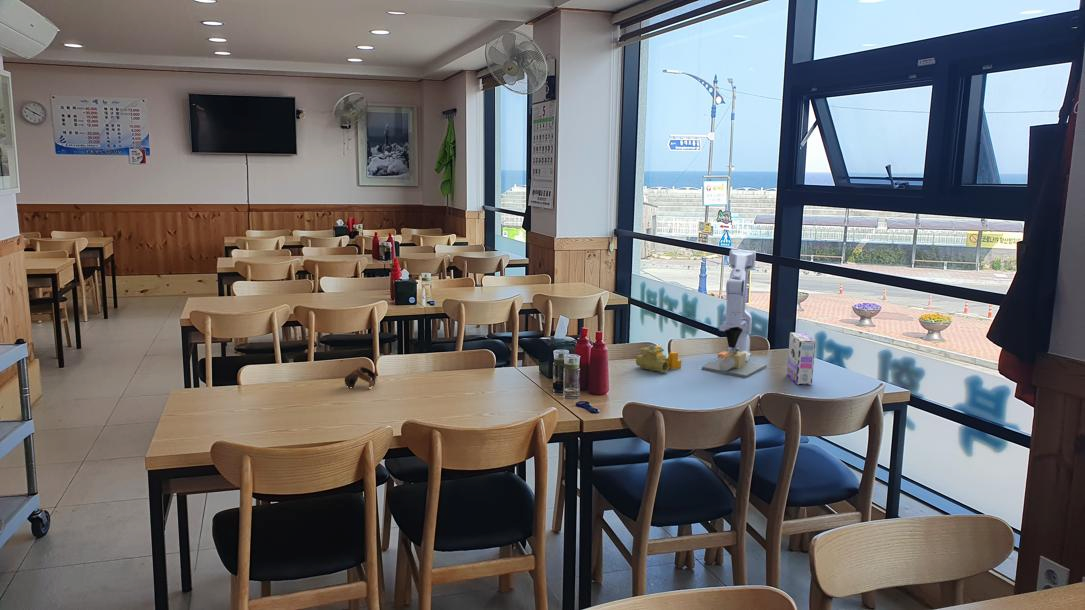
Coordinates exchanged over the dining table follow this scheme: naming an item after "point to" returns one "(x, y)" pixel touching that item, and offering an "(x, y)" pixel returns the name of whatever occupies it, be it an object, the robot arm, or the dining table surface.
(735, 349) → the valve lever
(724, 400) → the dining table surface
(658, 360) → the ball valve
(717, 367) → the valve base
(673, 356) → the pipe clamp
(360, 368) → the brown arched figurine
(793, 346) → the candy box
